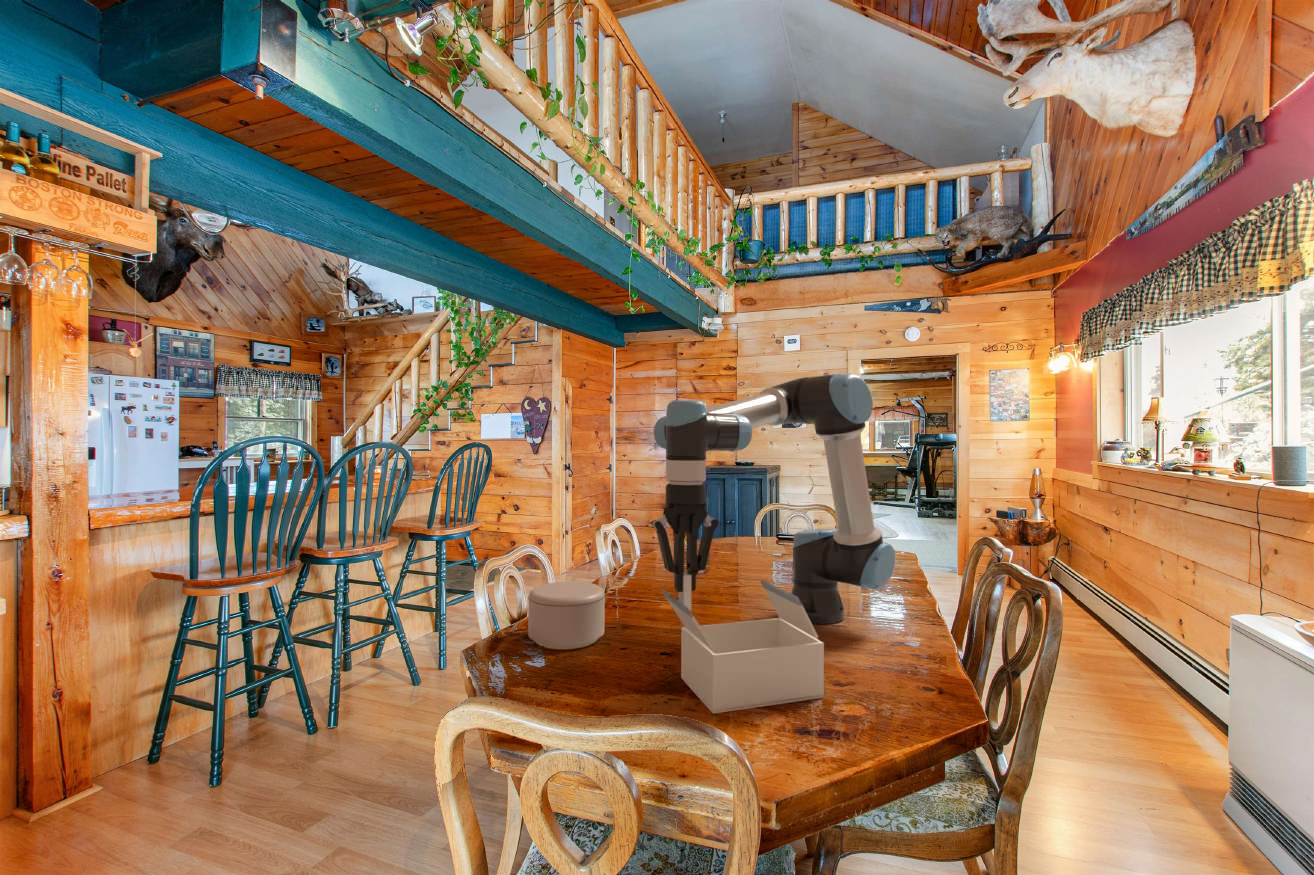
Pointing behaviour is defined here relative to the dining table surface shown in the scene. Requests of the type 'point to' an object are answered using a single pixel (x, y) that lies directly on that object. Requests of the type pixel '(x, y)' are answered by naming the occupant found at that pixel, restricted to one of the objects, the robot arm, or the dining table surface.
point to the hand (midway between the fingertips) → (684, 608)
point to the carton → (752, 664)
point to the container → (566, 614)
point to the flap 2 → (789, 608)
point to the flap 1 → (687, 618)
